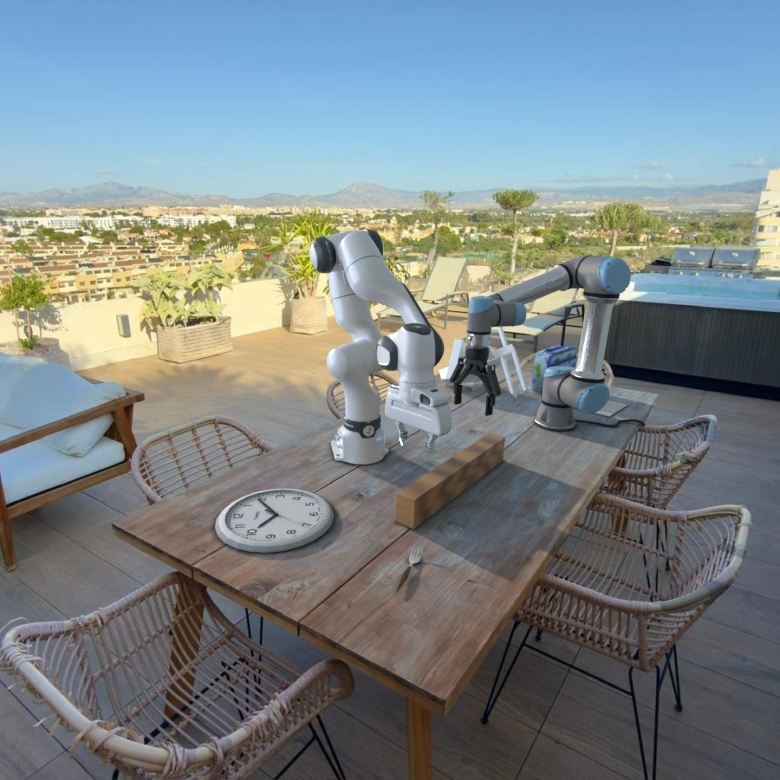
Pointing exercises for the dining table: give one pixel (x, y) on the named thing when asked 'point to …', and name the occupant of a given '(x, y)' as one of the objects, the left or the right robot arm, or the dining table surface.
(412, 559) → the fork
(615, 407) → the invitation card
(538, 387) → the lunch box
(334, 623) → the dining table surface
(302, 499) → the wall clock
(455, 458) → the post
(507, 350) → the white plastic object
